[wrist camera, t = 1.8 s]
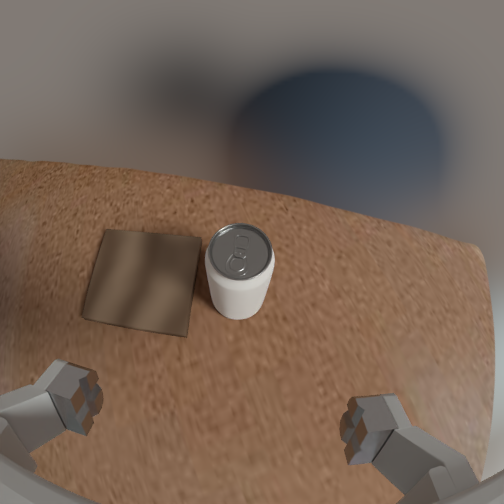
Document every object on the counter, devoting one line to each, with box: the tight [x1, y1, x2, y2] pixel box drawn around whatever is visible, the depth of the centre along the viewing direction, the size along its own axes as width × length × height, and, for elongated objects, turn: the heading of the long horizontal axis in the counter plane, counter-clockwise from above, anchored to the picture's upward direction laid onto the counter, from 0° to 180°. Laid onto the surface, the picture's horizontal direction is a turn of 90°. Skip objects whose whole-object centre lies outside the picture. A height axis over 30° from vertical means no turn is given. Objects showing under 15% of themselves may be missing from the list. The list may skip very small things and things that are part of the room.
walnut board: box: [82, 229, 202, 338], centre depth 36 cm, size 14×13×1 cm
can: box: [205, 223, 275, 319], centre depth 31 cm, size 6×6×12 cm
